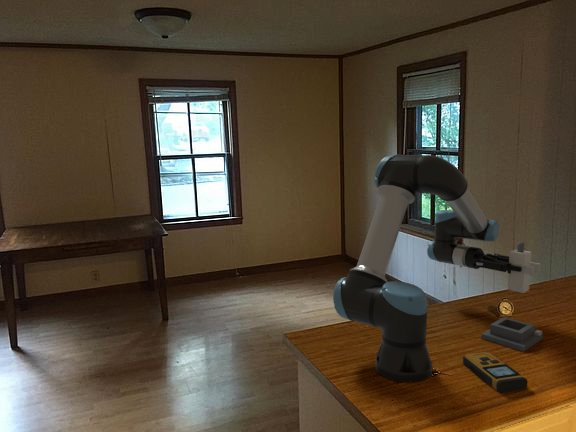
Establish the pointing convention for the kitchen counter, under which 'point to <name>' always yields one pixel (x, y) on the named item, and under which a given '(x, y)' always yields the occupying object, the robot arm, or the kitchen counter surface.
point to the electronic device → (494, 372)
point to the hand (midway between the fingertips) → (536, 269)
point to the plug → (515, 279)
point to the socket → (513, 334)
